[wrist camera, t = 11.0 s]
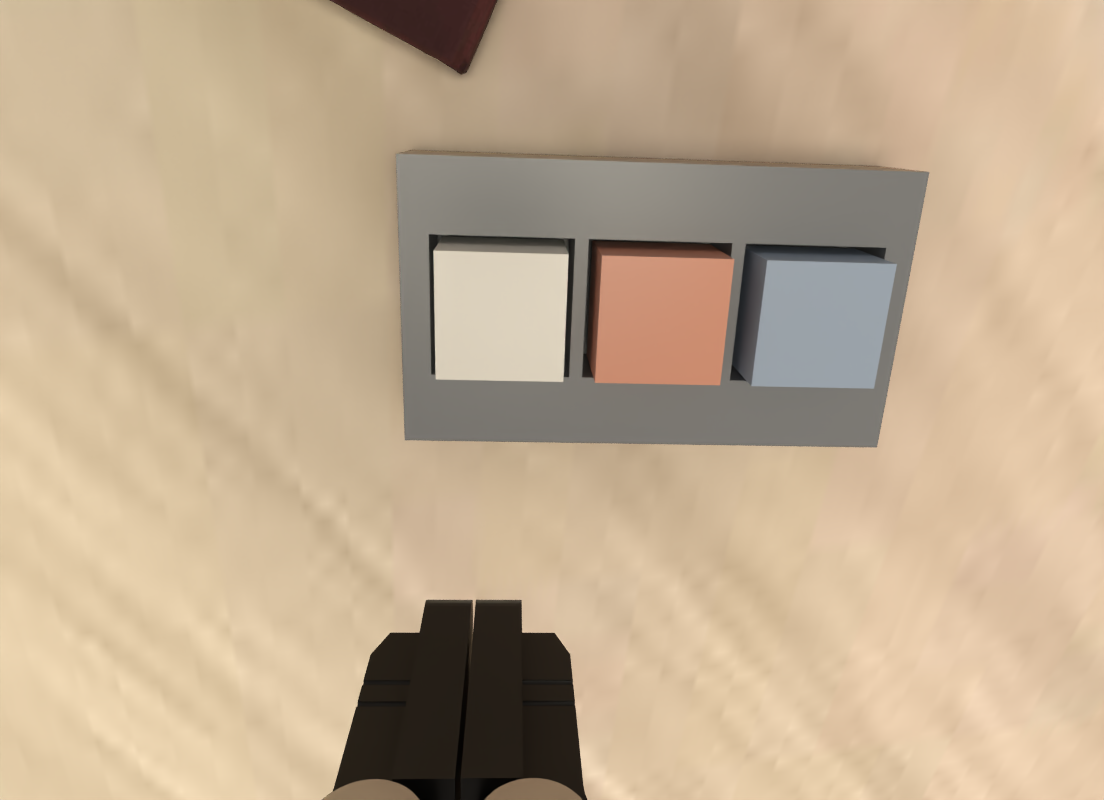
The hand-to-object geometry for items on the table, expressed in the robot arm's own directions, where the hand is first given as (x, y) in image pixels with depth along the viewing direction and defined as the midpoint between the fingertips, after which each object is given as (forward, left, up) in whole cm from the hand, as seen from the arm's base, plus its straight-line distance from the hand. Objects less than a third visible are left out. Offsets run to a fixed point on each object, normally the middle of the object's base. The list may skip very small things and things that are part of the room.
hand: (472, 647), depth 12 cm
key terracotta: (+7, 0, -26) cm, 27 cm away
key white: (0, 0, -26) cm, 26 cm away
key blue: (+14, 0, -26) cm, 30 cm away
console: (+7, 0, -29) cm, 30 cm away
